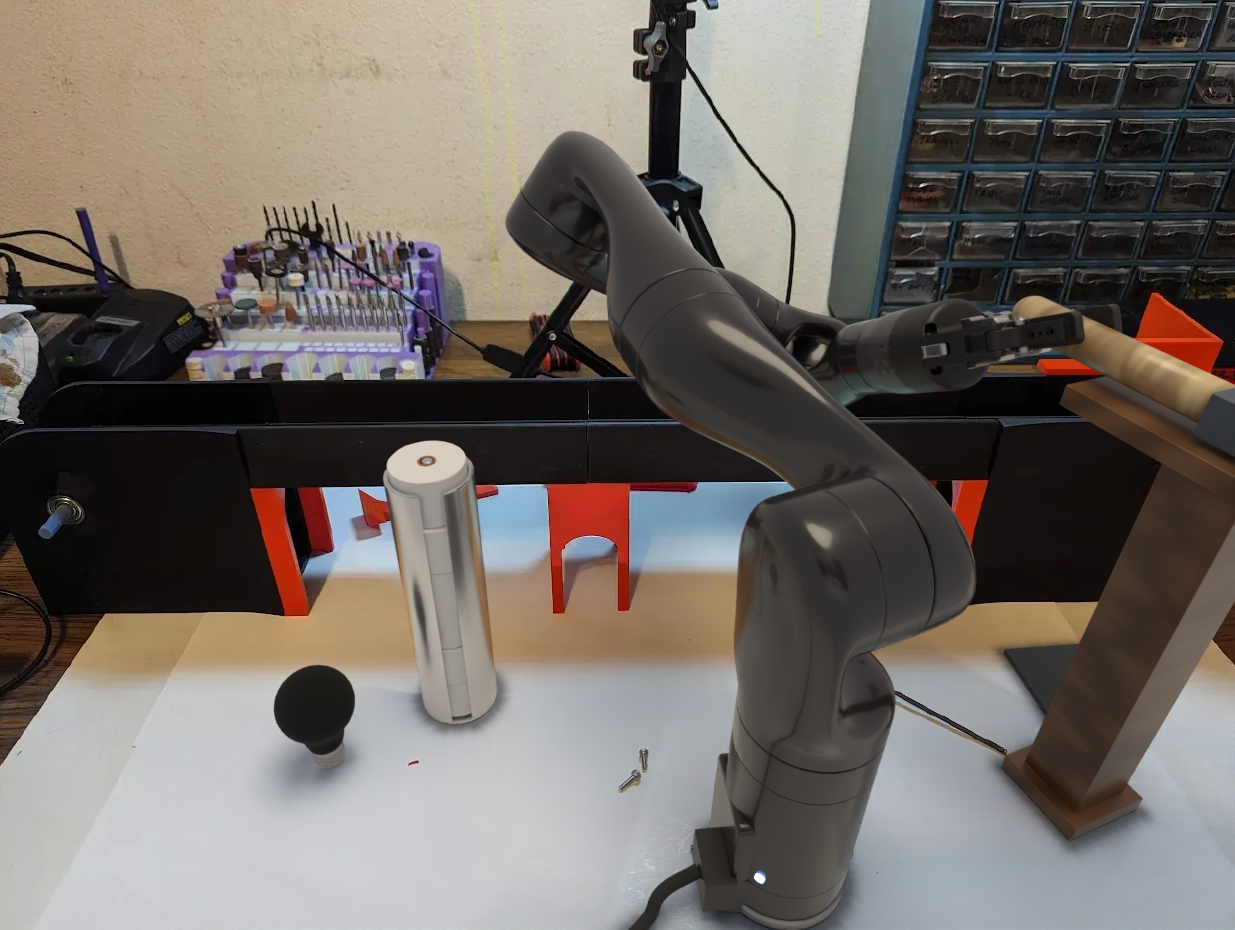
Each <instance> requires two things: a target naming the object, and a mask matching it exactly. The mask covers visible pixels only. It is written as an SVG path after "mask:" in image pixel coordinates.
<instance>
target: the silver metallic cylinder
mask: <svg viewBox="0 0 1235 930" xmlns="http://www.w3.org/2000/svg"><path fill="white" fill-rule="evenodd" d="M382 482H383V487H384V493H385V499H386V503H387V510H388V515H389V521H390V527H391V532H392V537H393V543H394V549H395V553H396V554H395V555H396V560H397V566H398V571H399V577H400V582H401V587H402V594H403V598H404V605H405V609H406V613H407V620H408V626H409V631H410V637H411V642H412V648H413V653H414V658H415V659H414V660H415V664H416V669H417V675H418V682H419V686H420V692H421V697H422V702H423V707H424V709H425V711H426V712H427V714H428V715H429V716H430V717H431V718H433V719H434V720H436V721H438V722H440V723H442V724H447V725H448V724H449V725H461V724H462V725H463V724H466V723H471V722H473V721H475V720H478V719H479V718H481V717H482V716H483V715H485V714H486V713H487V712H488V711H490V709H491V708H492V706H493V705H494V703H495V701H496V698H497V696H498V693H497V692H498V687H497V676H496V666H495V656H494V646H493V637H492V636H493V635H492V626H491V618H490V610H489V609H490V607H489V598H488V597H489V596H488V589H487V580H486V570H485V559H484V550H483V540H482V532H481V531H482V530H481V522H480V521H481V520H480V512H479V503H478V493H477V492H478V491H477V485H476V483H477V482H476V474H475V467H474V465H473V461H471V459H469V458H468V457H467V456H466V454H465V451H463V449H462V448H461V447H460V446H458V445H455V444H454V443H451V442H447V441H444V440H443V441H442V440H424V441H423V440H422V441H419V442H414V443H410V444H406V445H404V446H402V447H401V448H399V449H397V450H396V451H395V452H394V453H393V454H391V456H390V457H389V458H388V460H387V463H386V469H385V470H384V472H383V475H382Z"/></svg>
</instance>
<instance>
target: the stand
mask: <svg viewBox="0 0 1235 930" xmlns="http://www.w3.org/2000/svg"><path fill="white" fill-rule="evenodd" d="M1059 405H1060V406H1062V407H1063V408H1065V409H1067V410H1069V411H1070V412H1072V413H1074V414H1076V415H1077V416H1079V417H1081V418H1082V419H1083V420H1086V421H1088V422H1089V423H1091V424H1093V425H1095V426H1096V427H1098V428H1100V429H1101V430H1103V431H1105V432H1106V433H1109V434H1110V435H1112V436H1113V437H1116V438H1117V439H1119V440H1120V441H1122V442H1124V443H1126V444H1127V445H1129V446H1131V447H1133V448H1135V449H1136V450H1138V451H1140V452H1142V453H1143V454H1145V455H1147V456H1148V457H1150V458H1152V459H1153V460H1155V461H1157V462H1158V463H1161V466H1160V467H1159V469H1158V471H1157V474H1156V476H1155V479H1154V480H1153V483H1152V485H1151V487H1150V489H1149V491H1148V494H1147V496H1146V498H1145V500H1144V501H1143V504H1142V506H1141V509H1140V510H1139V513H1138V515H1137V517H1136V520H1135V521H1134V524H1133V526H1132V528H1131V530H1130V532H1129V535H1128V536H1127V538H1126V541H1125V543H1124V545H1123V548H1122V550H1121V552H1120V554H1119V556H1118V558H1117V560H1116V563H1115V565H1114V567H1113V570H1112V572H1111V573H1110V576H1109V578H1108V580H1107V582H1106V584H1105V587H1104V589H1103V591H1102V592H1101V596H1100V597H1099V599H1098V602H1097V603H1096V606H1095V608H1094V611H1093V613H1092V614H1091V617H1090V619H1089V621H1088V623H1087V626H1086V628H1085V629H1084V632H1083V634H1082V636H1081V639H1080V641H1079V643H1078V644H1079V645H1078V647H1077V649H1076V651H1075V654H1074V656H1073V658H1072V660H1071V662H1070V664H1069V666H1068V669H1067V671H1066V673H1065V675H1064V677H1063V679H1062V682H1061V684H1060V686H1059V688H1058V690H1057V692H1056V695H1055V697H1054V699H1053V701H1052V703H1051V705H1050V708H1049V710H1048V712H1047V714H1046V715H1045V716H1044V718H1043V721H1042V723H1041V725H1040V727H1039V730H1038V732H1037V733H1036V736H1035V738H1034V740H1033V742H1032V744H1030V745H1027V746H1025V747H1022V748H1020V749H1017V750H1014V751H1013V752H1009V753H1008V754H1005V756H1004V758H1003V761H1002V763H1001V765H1000V767H1001V768H1002V769H1003V770H1004V772H1005V773H1006V774H1007V775H1008V776H1009V777H1010V778H1011V779H1012V780H1013V781H1014V782H1015V784H1016V785H1017V786H1018V787H1019V788H1020V789H1021V790H1022V791H1023V792H1024V793H1025V794H1026V796H1028V798H1029V799H1030V800H1031V801H1032V802H1033V803H1034V804H1035V805H1036V806H1037V807H1038V809H1040V810H1041V812H1042V813H1043V814H1044V815H1045V816H1046V817H1047V818H1048V819H1049V821H1051V823H1052V824H1053V825H1054V826H1055V827H1056V828H1057V829H1058V830H1059V831H1060V833H1062V834H1063V836H1064V837H1065V838H1066V839H1067V840H1068V841H1072V840H1075V839H1076V838H1078V837H1081V836H1083V835H1085V834H1088V833H1090V832H1092V831H1093V830H1095V829H1098V828H1100V827H1102V826H1104V825H1106V824H1109V823H1112V822H1113V821H1115V820H1117V819H1119V818H1121V817H1124V816H1127V815H1128V814H1130V813H1132V812H1135V811H1136V810H1138V808H1139V806H1140V805H1141V803H1142V801H1143V799H1144V797H1142V796H1141V794H1139V793H1138V792H1137V791H1136V790H1135V789H1134V788H1133V787H1132V786H1131V785H1130V784H1128V783H1129V782H1130V780H1131V779H1132V777H1133V775H1134V773H1135V772H1136V770H1137V768H1138V767H1139V765H1140V763H1141V761H1142V760H1143V758H1144V757H1145V755H1146V753H1147V751H1148V749H1149V748H1150V746H1151V744H1152V743H1153V741H1154V740H1155V738H1156V737H1157V734H1158V733H1159V731H1160V729H1161V728H1162V725H1163V724H1164V723H1165V721H1166V720H1167V718H1168V716H1169V714H1170V713H1171V710H1172V709H1173V707H1174V705H1175V703H1176V702H1177V700H1178V699H1179V697H1180V695H1181V694H1182V692H1183V690H1184V688H1185V687H1186V685H1187V684H1188V681H1189V680H1190V678H1191V677H1192V675H1193V673H1194V672H1195V670H1196V668H1197V667H1198V665H1199V663H1200V662H1201V659H1202V658H1203V656H1204V655H1205V653H1206V651H1207V649H1208V648H1209V646H1210V644H1211V642H1212V641H1213V639H1214V638H1215V635H1216V634H1217V632H1218V631H1219V629H1220V627H1221V625H1222V624H1223V622H1224V621H1225V619H1226V617H1227V615H1228V614H1229V612H1230V610H1231V608H1232V607H1233V605H1234V603H1235V457H1234V456H1232V455H1230V454H1228V453H1226V452H1224V451H1222V450H1220V449H1219V448H1217V447H1215V446H1213V445H1211V444H1209V443H1207V442H1205V441H1203V440H1202V439H1200V438H1198V437H1196V436H1194V435H1193V433H1194V431H1195V429H1196V426H1197V424H1198V423H1196V422H1194V421H1192V420H1190V419H1188V418H1186V417H1184V416H1182V415H1180V414H1179V413H1177V412H1175V411H1173V410H1171V409H1169V408H1167V407H1165V406H1163V405H1161V404H1159V403H1157V402H1155V401H1153V400H1151V399H1149V398H1147V397H1145V396H1144V395H1142V394H1140V393H1138V392H1136V391H1134V390H1132V389H1130V388H1128V387H1126V386H1124V385H1122V384H1120V383H1118V382H1116V381H1114V380H1112V379H1111V378H1109V377H1107V376H1105V375H1103V376H1101V377H1096V378H1091V379H1087V380H1083V381H1078V382H1074V383H1069V384H1066V385H1065V387H1064V390H1063V392H1062V396H1061V399H1060V401H1059Z"/></svg>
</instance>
